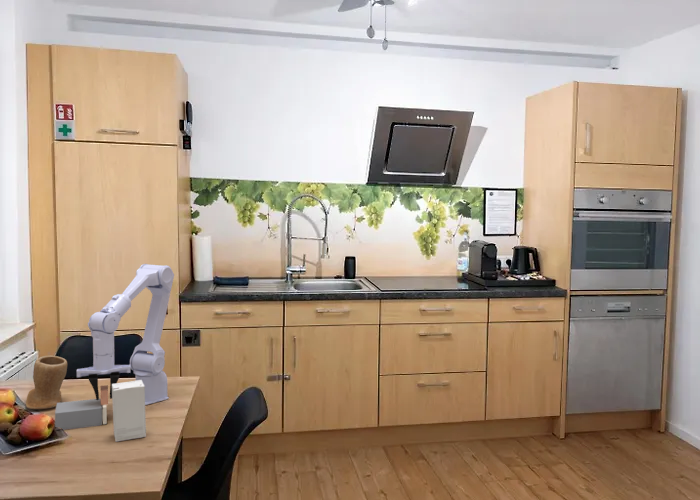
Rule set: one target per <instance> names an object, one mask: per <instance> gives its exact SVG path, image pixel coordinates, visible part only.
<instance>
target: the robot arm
mask: <svg viewBox="0 0 700 500" xmlns="http://www.w3.org/2000/svg"><path fill="white" fill-rule="evenodd" d="M174 277H175V273H174V272H173V269H172V268H171V266H170V265H160V264H159V265H157V264H149V263H143V264H141V265H140V267H139V268H138V269H137V270H136V271H135V276H134V278H133V279H132V280H131V282H130V283H129V284H128V286H126V288H125V289H124V291H122V293H117V294H114V295H113V296H112V297H111V299H110V300H109V301H108V302H107V303H106V304H105V305H104V306H103V307H102V309H100V311H96V312H94V313H93V314H91V316H90V317H89V319H88V322H87V327H88V328H89V330H90V335H91V337H92V353H93V354H92V357H93V358H92V359H93V361H92V362H93V363H92V364H93V365H92V366H89V367H84V368H83V367H82V368H77V369H76V378H82V377H87V376H88V381H89V384H90V385H91V387H92V388H93V391H94V395H95V399H96V400H99V399H100V392H99V376H100V375H109V377H110V379H109V380H110V382H109V383H110V387H109V399H112V384H115V383H118V381H119V380H120V374H121V373H122V374H123V373H127V374H129V373H130V374H131V370H132V371H133V374H134V375H135V381H136V380H142V382H143V384H144V386H145V406H147V405H151V404H154V403H159V402H162V401H165V400H166V401H167V400H169V398H170V397H169V396H168V376H167V374H166V372H165V371H164V367H165V361H166V360H165V355H166V354H165V353H166V351H165V350H164V349H163V347H162V346H161V345H160V343H161V338H162V334H163V329H164V324H165V320H166V315H167V311H168V305H169V301H170V296H171V291H172V287H173V283H174ZM144 289H147V290H148V291H150V292H151V295H152V296H151V301H150V305H149V310H148V314H147V318H146V323H145V327H144V332H143V337H142V341H141V342H140V343H139V344H138V345H136V346H134V350H133V353H132V355H131V356H130V359H129V364H115V332H116V331H117V330H118V327H119V324H120V321H121V320H122V318H123V316H124V315H125V314H126V313H127V312H128V310H129V309H131V307H132V301H133V300H134V299H135V298H136V297H137V296H138V295H139V294H140V293H141V292H142V291H144ZM148 352H149V353H148Z"/></svg>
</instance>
